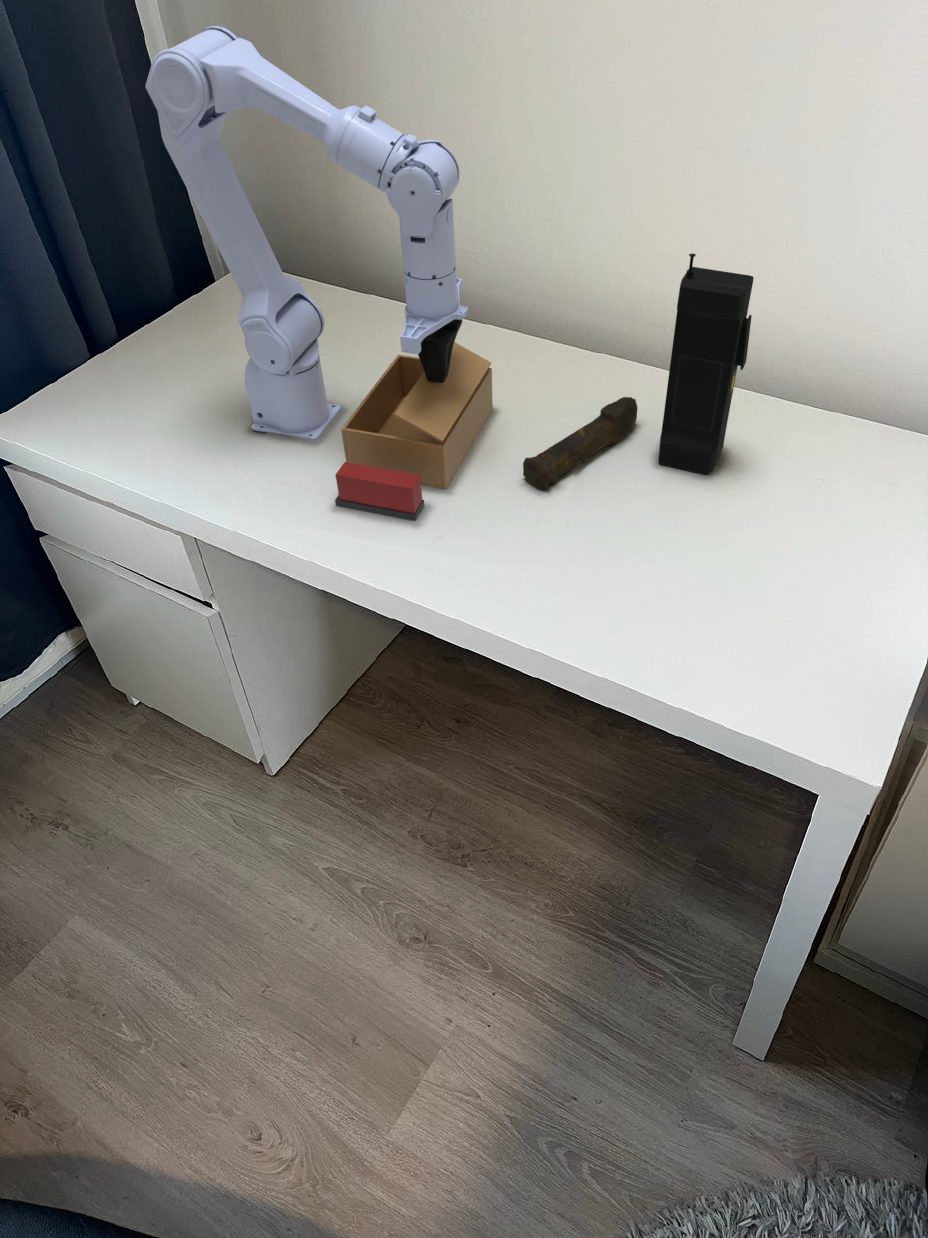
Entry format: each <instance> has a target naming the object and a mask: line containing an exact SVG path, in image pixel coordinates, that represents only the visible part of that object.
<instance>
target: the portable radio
mask: <svg viewBox="0 0 928 1238" xmlns="http://www.w3.org/2000/svg"><path fill="white" fill-rule="evenodd" d="M688 256H689V257H690V258H689V266H688V269H687V270H686V272H685V274H684V275H683V276H682V278H681V281H680V284H679V290H678V298H677V303H676V304H677V305H676V316H675V324H674V330H673V331H674V332H673V338H672V347H671V354H670V355H671V357H670V362H669V363H670V364H669V371H668V378H667V387H666V395H665V401H664V410H663V417H662V426H661V433H660V438H659V449H658V450H659V451H658V463H659V464H660V465H662V466H667V467H670V468H674V469H675V468H676V469H680V470H684V471H689V472H693V473H696V474H697V473H698V474H702V475H708V474H709V473H711V472H712V471H714V469H715V468H716V466H717V463H718V461H719V459H720V456H721V454H722V452H723V449H724V444H725V438H726V434H727V427H728V420H729V416H730V410H731V405H732V399H733V394H734V388H735V382H736V377H737V371H738V366H739V367H740V368H739V369H740V371H742V370H743V369H744V367H745V366H746V364H747V360H748V359H747V358H748V349H749V343H750V342H749V341H750V334H751V325H752V317H753V315H752V314H749V315H748V312H749V305H750V300H751V295H752V290H753V284H754V276H753V275H750V274H742V273H737V272H729V271H724V270H718V269H717V270H716V269H711V268H704V267H699V266H698V267H697V266H693V265H694V258H695V257H696V256H697V254H696V253H689V254H688ZM747 316H748V317H747Z"/></svg>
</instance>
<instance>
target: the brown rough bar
mask: <svg viewBox="0 0 928 1238" xmlns="http://www.w3.org/2000/svg"><path fill="white" fill-rule="evenodd" d="M637 403H638V402H637V401H636V399H635V398H633V397H632V396H623V397H621V398H619V399H617V400H616V401H613V402H611V403H608V404H606V405H605V406H603V407H602V408H601V409H600V412H599V415H598V416H597V417H595V418H594V419H593V420H592V421H590V422H589V423H587V424H586V425H583V426H582V427H581V428H579V429H577V430H575V431H574V432H573V433H571V434H569V435H568V436H566V437H565V438H563V439H561V440H560V441H558V442H556V443H554V444H553V445H552V446H550V447H548V448H546V449H545V450H544V451H542V452H539V453H538V454H537V455H535V456H531V457H525V458H524V461H523V463H522V470H523V473H522V475H523V477H524V478H525V481H526V482H527V483H529V484H531V485H532V486H533V487H535V488H537V489H539V490H541V491H544V490H547V488H548V487H549V485H553V484H555V482H556V480H557V479H558V477H560V476H561V475H564V474H565V473H566V472H568V471H569V470H570V469H572V468H573V467H574V466H576V465H578V464H579V463H582V462H584V461H585V459H587V458H588V457H591V456H592V455H593V454H595V453H596V452H598V451H599V450H601V449H602V448H604V447H606V446H607V445H615V444H618V443H619V442H620V441H621V440H622V439H623V438H624V437H625V436H626V435H627V434H628V433H629V432H630V431H631V429H632V428H633V426H634V425H635V424H636V422H637V419H638V404H637Z"/></svg>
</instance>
